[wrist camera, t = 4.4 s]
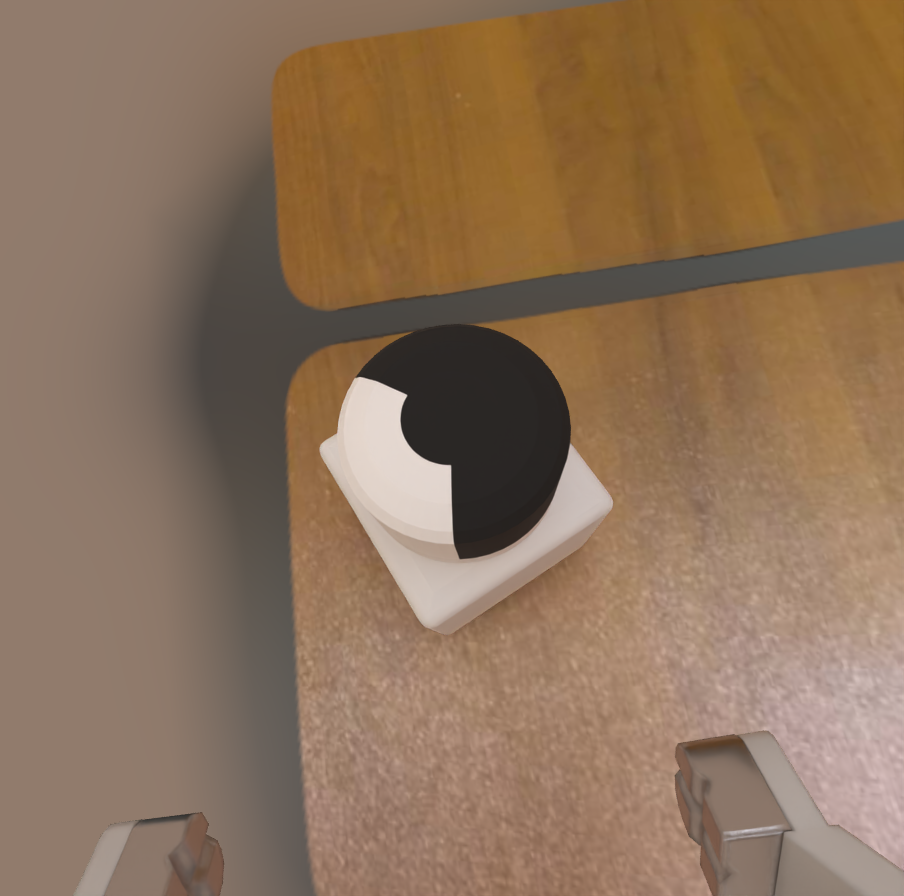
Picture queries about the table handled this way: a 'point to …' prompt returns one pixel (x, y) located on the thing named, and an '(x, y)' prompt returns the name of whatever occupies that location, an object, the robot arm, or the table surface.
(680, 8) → the table surface
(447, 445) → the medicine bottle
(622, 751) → the table surface
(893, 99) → the table surface
